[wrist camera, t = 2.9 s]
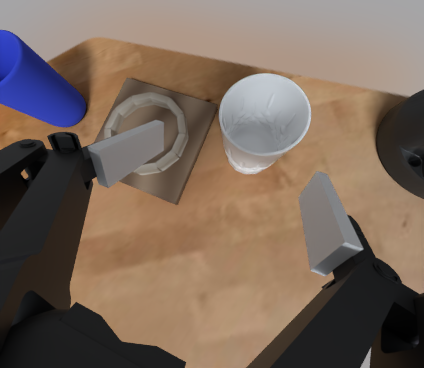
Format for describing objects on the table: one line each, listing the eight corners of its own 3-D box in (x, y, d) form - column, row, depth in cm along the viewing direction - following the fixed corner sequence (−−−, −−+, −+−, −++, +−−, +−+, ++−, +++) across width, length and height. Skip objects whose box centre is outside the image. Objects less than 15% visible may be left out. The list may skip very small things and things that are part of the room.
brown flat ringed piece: (217, 109, 26) (216, 97, 23) (177, 204, 24) (171, 203, 21) (131, 83, 28) (121, 69, 25) (88, 167, 26) (73, 163, 24)
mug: (53, 75, 30) (-33, 10, 20) (102, 101, 28) (34, 43, 18) (26, 112, 29) (-76, 62, 19) (74, 141, 27) (-12, 103, 17)
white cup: (211, 150, 25) (201, 110, 15) (251, 117, 25) (267, 57, 15) (246, 189, 23) (260, 174, 13) (288, 154, 23) (332, 114, 14)
